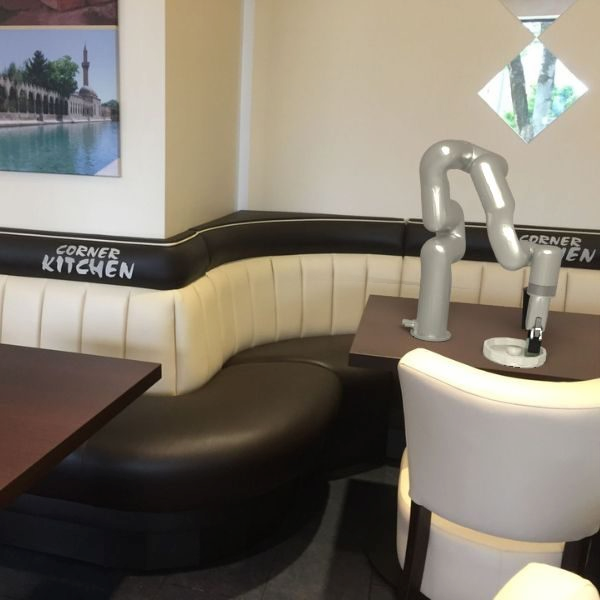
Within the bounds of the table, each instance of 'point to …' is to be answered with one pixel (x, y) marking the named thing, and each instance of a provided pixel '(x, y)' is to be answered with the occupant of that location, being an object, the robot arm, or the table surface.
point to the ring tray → (505, 359)
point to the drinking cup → (525, 307)
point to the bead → (527, 349)
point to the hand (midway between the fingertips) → (532, 347)
